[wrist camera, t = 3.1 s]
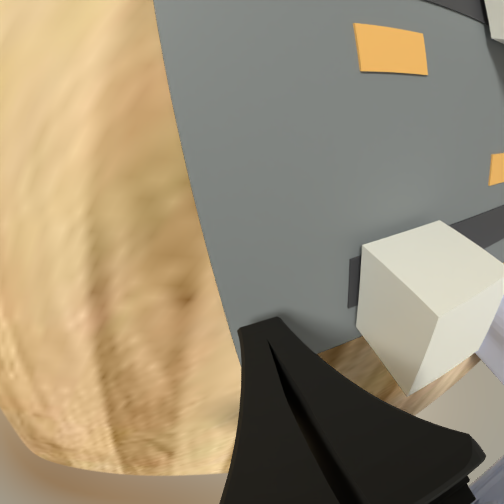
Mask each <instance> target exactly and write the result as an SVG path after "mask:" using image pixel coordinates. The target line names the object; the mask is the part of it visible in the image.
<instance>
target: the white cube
mask: <svg viewBox="0 0 504 504" xmlns="http://www.w3.org/2000/svg"><path fill="white" fill-rule="evenodd" d="M503 295H504V264H503V263H502V262H500V261H499V260H498V259H496V258H495V257H494V256H492V255H491V254H490V253H488V252H487V251H485V250H484V249H483V248H481V247H480V246H478V245H477V244H475V243H474V242H472V241H471V240H469V239H468V238H467V237H465V236H464V235H462V234H461V233H459V232H457V231H456V230H454V229H453V228H451V227H450V226H448V225H447V224H445V223H443V222H442V221H440V220H439V221H435V222H432V223H429V224H426V225H423V226H420V227H417V228H414V229H411V230H408V231H405V232H402V233H399V234H396V235H392V236H389V237H386V238H383V239H380V240H377V241H373V242H370V243H367V244H364V245H362V256H361V273H360V288H359V300H358V311H357V321H356V327H357V329H358V330H359V331H360V333H361V334H362V336H363V337H364V338H365V340H366V341H367V342H368V344H369V345H370V346H371V348H372V349H373V350H374V352H375V353H376V354H377V356H378V357H379V359H380V360H381V361H382V363H383V364H384V365H385V367H386V368H387V369H388V371H389V372H390V374H391V375H392V376H393V378H394V379H395V381H396V382H397V383H398V385H399V386H400V388H401V389H402V390H403V392H404V393H405V395H406V396H407V397H408V396H409V395H411V394H413V393H415V392H416V391H418V390H420V389H421V388H423V387H425V386H426V385H428V384H429V383H431V382H433V381H434V380H436V379H437V378H439V377H441V376H442V375H444V374H445V373H447V372H448V371H450V370H451V369H453V368H454V367H456V366H457V365H458V364H460V363H461V362H463V361H464V360H465V359H467V358H468V357H470V356H471V355H472V354H474V353H475V352H476V351H478V350H479V348H480V346H481V344H482V342H483V340H484V338H485V336H486V334H487V332H488V330H489V328H490V325H491V323H492V321H493V319H494V317H495V314H496V312H497V310H498V307H499V305H500V303H501V300H502V298H503Z"/></svg>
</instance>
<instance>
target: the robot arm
mask: <svg viewBox="0 0 504 504" xmlns="http://www.w3.org/2000/svg"><path fill="white" fill-rule="evenodd" d="M237 333H238V337H239V342H240V349H241V397H240V409H239V419H238V426H237V433H236V439H235V445H234V450H233V454H232V459H231V464H230V468H229V472H228V476H227V480H226V483H225V487H224V490H223V494H222V497H221V500H220V504H504V455H503V456H502V457H501V458H500V459H499V460H498V461H497V462H495V463H494V464H493V466H491V467H490V468H489V469H488V470H487V471H486V472H484V473H483V474H482V475H481V476H480V477H479V478H477V479H476V480H475V481H474V482H473V483H471V484H470V485H469V486H468V485H467V483H468V482H469V480H470V479H469V478H468V476H467V475H468V474H469V473H471V472H472V471H473V470H474V469H475V468H476V467H478V466H479V465H480V464H481V463H482V462H483V461H484V460H485V457H486V455H485V453H484V452H483V450H482V449H481V447H480V446H479V445H478V443H477V442H476V441H475V440H474V439H473V438H472V437H471V436H470V435H469V434H466V433H463V432H459V431H455V430H452V429H448V428H445V427H442V426H439V425H436V424H433V423H431V422H428V421H425V420H423V419H420V418H418V417H415V416H413V415H411V414H409V413H407V412H405V411H402V410H400V409H398V408H396V407H394V406H392V405H390V404H388V403H386V402H384V401H382V400H381V399H379V398H377V397H375V396H373V395H372V394H370V393H368V392H367V391H365V390H364V389H362V388H360V387H359V386H357V385H356V384H354V383H353V382H351V381H350V380H349V379H347V378H346V377H344V376H343V375H342V374H340V373H339V372H338V371H336V370H335V369H334V368H332V367H331V366H330V365H329V364H327V363H326V362H325V361H324V360H323V359H321V358H320V357H319V356H318V355H317V354H316V353H314V352H313V351H312V350H311V349H310V348H309V347H308V346H307V345H306V344H304V343H303V342H302V341H301V340H300V339H299V338H298V337H297V336H296V335H295V334H294V333H293V332H292V331H291V329H290V328H289V327H288V326H287V325H286V324H285V323H284V322H283V320H282V319H281V318H279V317H277V316H276V317H273V318H270V319H267V320H263V321H260V322H257V323H253V324H250V325H247V326H243V327H240V328H239V329H238V330H237ZM475 353H476V355H477V356H478V357H479V358H480V359H481V360H482V361H483V362H484V363H485V364H486V366H487V367H488V368H489V369H490V370H491V371H492V372H493V374H494V375H495V376H496V377H497V378H498V379H499V380H500V382H501V383H502V384H503V385H504V295H503V298H502V300H501V303H500V305H499V307H498V310H497V312H496V314H495V317H494V319H493V321H492V323H491V325H490V328H489V330H488V332H487V334H486V336H485V338H484V340H483V342H482V344H481V346H480V348H479V350H478V351H476V352H475Z"/></svg>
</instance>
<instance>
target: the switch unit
mask: <svg viewBox="0 0 504 504" xmlns="http://www.w3.org/2000/svg"><path fill="white" fill-rule="evenodd" d="M153 2H154V8H155V14H156V20H157V26H158V32H159V37H160V43H161V48H162V54H163V59H164V64H165V70H166V75H167V80H168V85H169V90H170V95H171V100H172V104H173V109H174V114H175V118H176V123H177V128H178V132H179V137H180V141H181V146H182V150H183V154H184V159H185V163H186V167H187V171H188V176H189V180H190V184H191V188H192V192H193V196H194V200H195V204H196V208H197V212H198V216H199V220H200V224H201V228H202V232H203V236H204V239H205V243H206V247H207V251H208V255H209V258H210V262H211V266H212V269H213V273H214V277H215V280H216V284H217V287H218V291H219V294H220V298H221V301H222V305H223V308H224V312H225V315H226V319H227V322H228V325H229V329H230V332H231V336H232V339H233V342H234V345H235V349H236V352H237V355H238V358H239V362H240V365H241V349H240V342H239V337H238V333H237V330H238V329H239V328H240V327H243V326H247V325H250V324H253V323H257V322H260V321H263V320H267V319H270V318H273V317H276V316H277V317H279V318H281V319H282V320H283V322H284V323H285V324H286V325H287V326H288V327H289V328H290V329H291V331H292V332H293V333H294V334H295V335H296V336H297V337H298V338H299V339H300V340H301V341H302V342H303V343H304V344H306V345H307V346H308V347H309V348H310V349H311V350H312V351H313V352H314V353H316V354H318V353H320V352H323V351H326V350H328V349H331V348H334V347H336V346H339V345H341V344H344V343H346V342H349V341H351V340H354V339H356V338H358V337H361V336H362V334H361V333H360V331H359V330H358V329H357V327H356V321H357V311H358V300H359V288H360V273H361V256H362V245H364V244H367V243H370V242H373V241H377V240H380V239H383V238H386V237H389V236H392V235H396V234H399V233H402V232H405V231H408V230H411V229H414V228H417V227H420V226H423V225H426V224H429V223H432V222H435V221H439V220H440V221H442V222H443V223H445V224H447V225H448V226H450V227H451V228H453V229H454V230H456V231H457V232H459V233H461V234H462V235H464V236H465V237H467V238H468V239H469V240H471V241H472V242H474V243H475V244H477V245H478V246H480V247H481V248H483V249H484V250H485V251H487V252H488V253H490V254H491V255H492V256H494V257H495V258H496V259H498V260H499V261H500V262H502V263H503V262H504V44H503V43H501V42H498V41H496V40H494V39H492V38H491V32H490V26H489V20H488V15H487V10H486V6H485V1H484V0H153Z"/></svg>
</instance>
